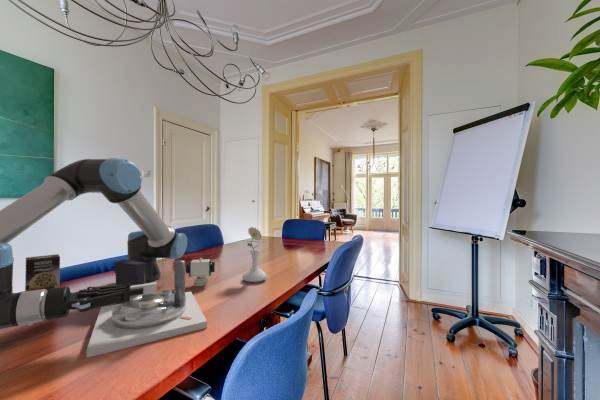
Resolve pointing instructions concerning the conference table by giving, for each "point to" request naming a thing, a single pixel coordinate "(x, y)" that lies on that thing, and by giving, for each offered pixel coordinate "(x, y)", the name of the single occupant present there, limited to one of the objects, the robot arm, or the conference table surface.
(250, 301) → the conference table surface
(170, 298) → the round disc with peg
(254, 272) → the flower in vase
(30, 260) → the brown food box
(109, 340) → the base plate
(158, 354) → the conference table surface
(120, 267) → the black upright block
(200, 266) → the pneumatic valve
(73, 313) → the conference table surface
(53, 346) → the conference table surface
